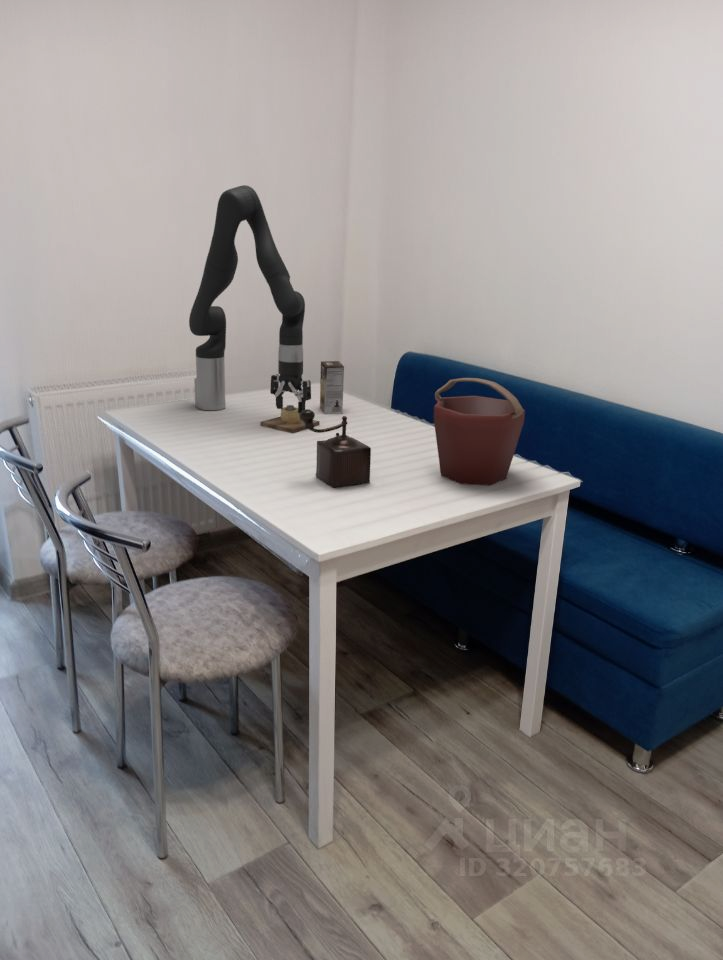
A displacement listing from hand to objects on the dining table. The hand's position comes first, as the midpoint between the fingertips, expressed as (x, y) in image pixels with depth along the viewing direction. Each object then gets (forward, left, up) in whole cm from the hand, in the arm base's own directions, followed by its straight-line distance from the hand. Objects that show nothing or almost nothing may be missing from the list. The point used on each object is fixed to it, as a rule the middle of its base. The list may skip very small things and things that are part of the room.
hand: (290, 410), depth 248 cm
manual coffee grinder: (+42, -34, -5) cm, 54 cm away
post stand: (0, 0, -5) cm, 5 cm away
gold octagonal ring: (0, 0, -3) cm, 3 cm away
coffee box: (-2, +24, -5) cm, 24 cm away
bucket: (+67, -6, -5) cm, 67 cm away
